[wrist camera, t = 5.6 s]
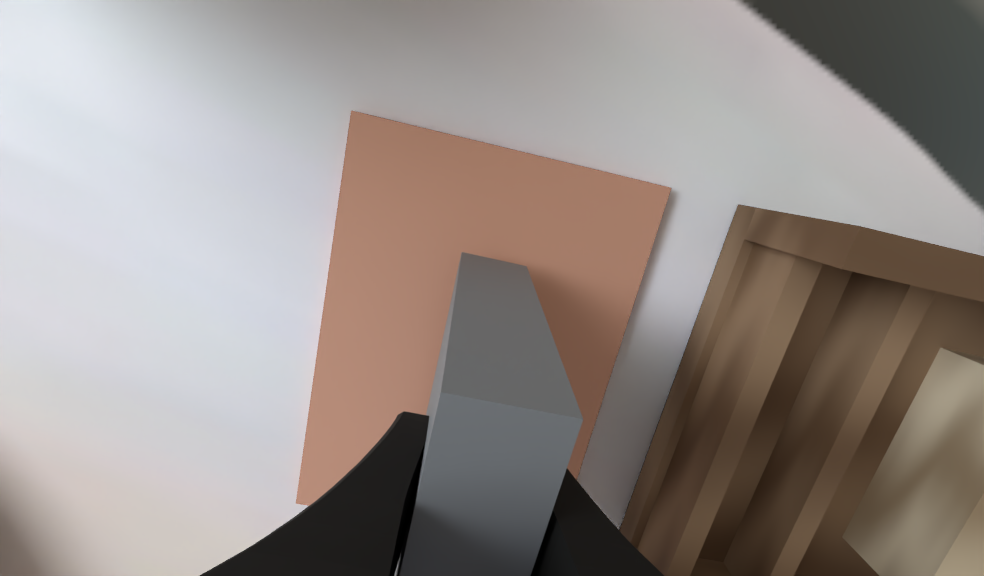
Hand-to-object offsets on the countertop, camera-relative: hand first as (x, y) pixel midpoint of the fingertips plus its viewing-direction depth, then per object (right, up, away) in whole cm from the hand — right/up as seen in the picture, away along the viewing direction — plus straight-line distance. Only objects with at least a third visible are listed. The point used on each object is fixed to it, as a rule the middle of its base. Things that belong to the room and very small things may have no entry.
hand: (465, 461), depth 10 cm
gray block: (0, +1, +5) cm, 5 cm away
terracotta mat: (0, +2, +6) cm, 6 cm away
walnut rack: (+14, -1, +7) cm, 16 cm away
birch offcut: (+16, -2, +6) cm, 17 cm away
